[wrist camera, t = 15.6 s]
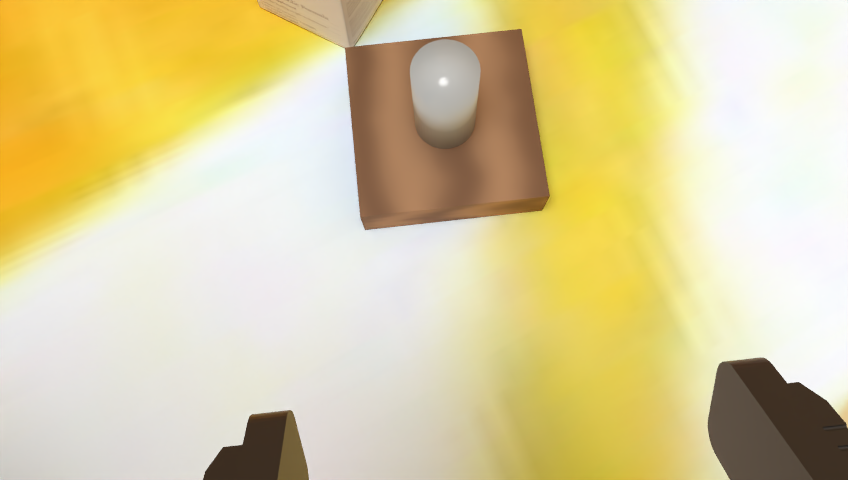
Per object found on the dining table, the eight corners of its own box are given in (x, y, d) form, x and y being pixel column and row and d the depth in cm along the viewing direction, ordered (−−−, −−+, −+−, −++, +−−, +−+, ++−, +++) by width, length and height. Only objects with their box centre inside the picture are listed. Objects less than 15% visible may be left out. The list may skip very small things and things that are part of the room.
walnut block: (365, 229, 52) (360, 216, 48) (350, 70, 55) (345, 47, 52) (542, 210, 52) (549, 196, 48) (515, 52, 55) (521, 28, 52)
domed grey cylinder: (417, 151, 49) (413, 106, 42) (412, 96, 51) (406, 43, 43) (478, 145, 49) (484, 98, 42) (471, 90, 51) (476, 35, 43)
